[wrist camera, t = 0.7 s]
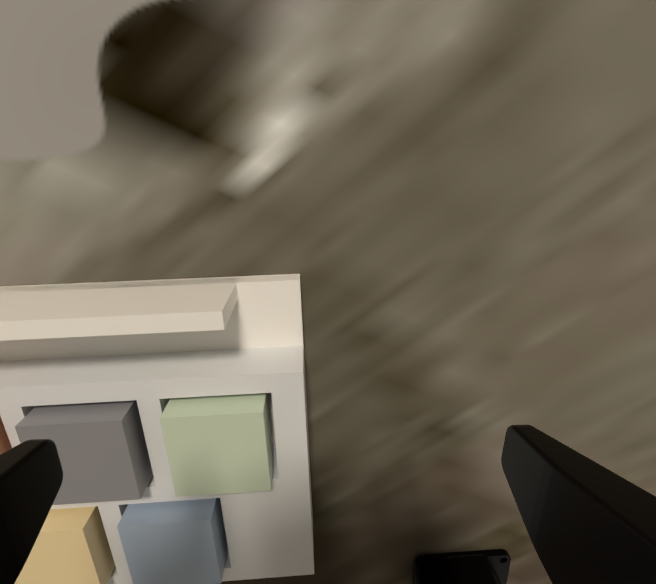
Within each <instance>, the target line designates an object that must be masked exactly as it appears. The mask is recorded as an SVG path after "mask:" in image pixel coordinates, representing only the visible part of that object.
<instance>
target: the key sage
mask: <svg viewBox="0 0 656 584" xmlns="http://www.w3.org/2000/svg"><path fill="white" fill-rule="evenodd" d="M160 422H161V427H162V432H163V437H164V442H165V447H166V452H167V456H168V461H169V466H170V471H171V476H172V481H173V486H174V491H175V495H176V497H181V496H196V495H211V494H226V493H241V492H255V491H270V490H271V483H272V472H273V452H272V441H271V430H270V419H269V409H268V398H267V393H256V394H238V395H220V396H203V397H185V398H170V400H169V402H168V404H167V405H166V407H165V409H164V411H163V413H162V415H161V417H160Z"/></svg>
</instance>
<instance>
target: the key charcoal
mask: <svg viewBox="0 0 656 584" xmlns="http://www.w3.org/2000/svg"><path fill="white" fill-rule="evenodd" d="M15 429H16V432H17V435H18V438H19V441H20V443H23V442H24V441H27V440H30V439H51V440H53V441H54V442H55V444H56V447H57V450H58V454H59V458H60V462H61V465H62V469H63V481H62V485H61V487H60V490H59V492H58V494H57V496H56V498H55V500H54V503H53V505H63V504H78V503H92V502H107V501H122V500H137V499H141V498H142V495H143V493H144V491H145V489H146V487H147V485H148V482H149V480H150V478H151V476H152V474H153V471H152V467H151V462H150V458H149V454H148V449H147V445H146V440H145V436H144V431H143V427H142V422H141V418H140V414H139V409H138V405H137V400H131V401H114V402H96V403H78V404H60V405H42V406H36V407H35V408H33V409H32V410H31V411H30V412H29V413H28V414H27V415H26V416H25V417H24V418H23V419H22V420H21V421H20V422H19V423H18V424H17V425H16V426H15Z"/></svg>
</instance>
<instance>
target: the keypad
mask: <svg viewBox="0 0 656 584" xmlns="http://www.w3.org/2000/svg"><path fill="white" fill-rule="evenodd" d="M256 393H267V398H268V409H269V419H270V430H271V441H272V452H273V472H272V483H271V490H270V491H255V492H241V493H226V494H211V495H196V496H181V497H176V495H175V491H174V486H173V481H172V476H171V471H170V466H169V461H168V456H167V452H166V447H165V442H164V437H163V432H162V427H161V422H160V417H161V415H162V413H163V411H164V409H165V407H166V405H167V404H168V402H169V400H170V398H185V397H203V396H220V395H238V394H256ZM131 400H137V405H138V409H139V414H140V418H141V422H142V427H143V431H144V436H145V440H146V445H147V449H148V454H149V458H150V462H151V467H152V471H153V474H152V476H151V478H150V480H149V482H148V485H147V487H146V489H145V491H144V493H143V495H142V498H141V499H137V500H122V501H107V502H92V503H78V504H63V505H52V507H51V509H65V508H79V507H94V506H98V509H99V512H100V515H101V519H102V522H103V526H104V529H105V532H106V536H107V539H108V542H109V546H110V549H111V553H112V556H113V559H114V563H115V567H114V569H113V571H112V573H111V576H110V578H109V580H108V582H107V584H133V582H132V578H131V575H130V571H129V568H128V564H127V561H126V557H125V553H124V550H123V546H122V543H121V539H120V536H119V532H118V529H117V526H118V524H119V522H120V520H121V518H122V516H123V514H124V512H125V510H126V508H127V506H128V504H138V503H153V502H168V501H183V500H197V499H212V498H219V499H220V506H221V512H222V518H223V525H224V531H225V537H226V544H227V550H228V551H227V556H226V561H225V567H224V572H223V577H222V581H234V580H247V579H260V578H273V577H286V576H299V575H312V574H314V543H313V512H312V493H311V474H310V455H309V436H308V417H307V398H306V380H305V361H304V342H303V323H302V304H301V285H300V274H282V275H258V276H235V277H211V278H188V279H164V280H141V281H117V282H94V283H70V284H47V285H23V286H0V416H1V419H2V422H3V424H4V427H5V430H6V433H7V435H8V438H9V441H10V443H11V446H12V448H13V447H15V446H17V445H19V444H21V443H20V441H19V438H18V435H17V432H16V429H15V426H16V425H17V424H18V423H19V422H20V421H21V420H22V419H23V418H24V417H25V416H26V415H27V414H28V413H29V412H30V411H31V410H32V409H33V408H35V407H36V406H42V405H60V404H78V403H96V402H114V401H131Z"/></svg>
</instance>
